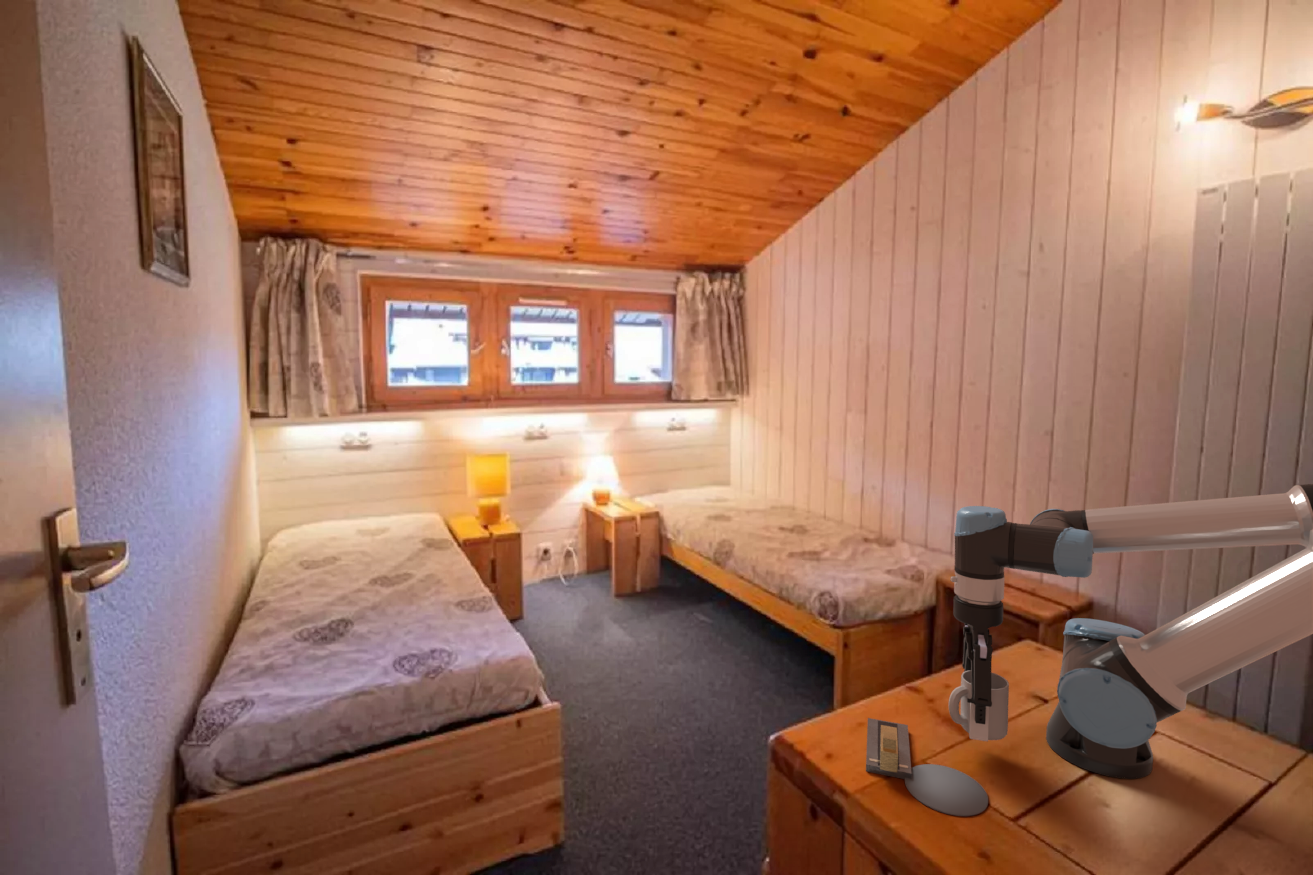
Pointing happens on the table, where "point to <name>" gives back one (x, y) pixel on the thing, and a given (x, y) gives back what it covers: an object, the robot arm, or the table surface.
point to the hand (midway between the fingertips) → (975, 726)
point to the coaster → (947, 790)
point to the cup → (996, 711)
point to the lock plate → (874, 749)
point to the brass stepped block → (888, 749)
